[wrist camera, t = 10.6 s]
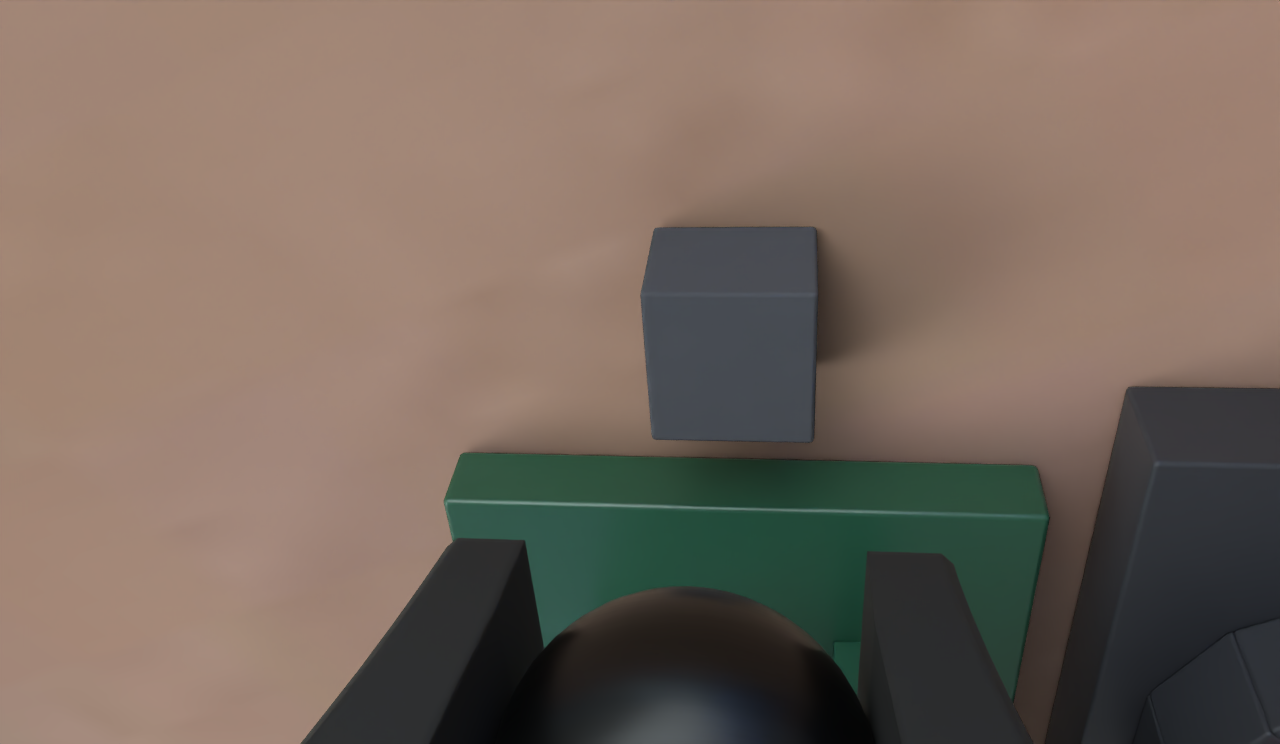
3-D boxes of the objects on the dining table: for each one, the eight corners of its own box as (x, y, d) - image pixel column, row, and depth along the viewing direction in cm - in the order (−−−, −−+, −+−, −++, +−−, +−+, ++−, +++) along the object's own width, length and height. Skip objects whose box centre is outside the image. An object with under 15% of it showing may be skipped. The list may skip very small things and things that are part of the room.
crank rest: (813, 369, 17) (813, 444, 15) (663, 367, 17) (651, 441, 16) (816, 224, 15) (818, 294, 14) (653, 225, 16) (640, 293, 14)
